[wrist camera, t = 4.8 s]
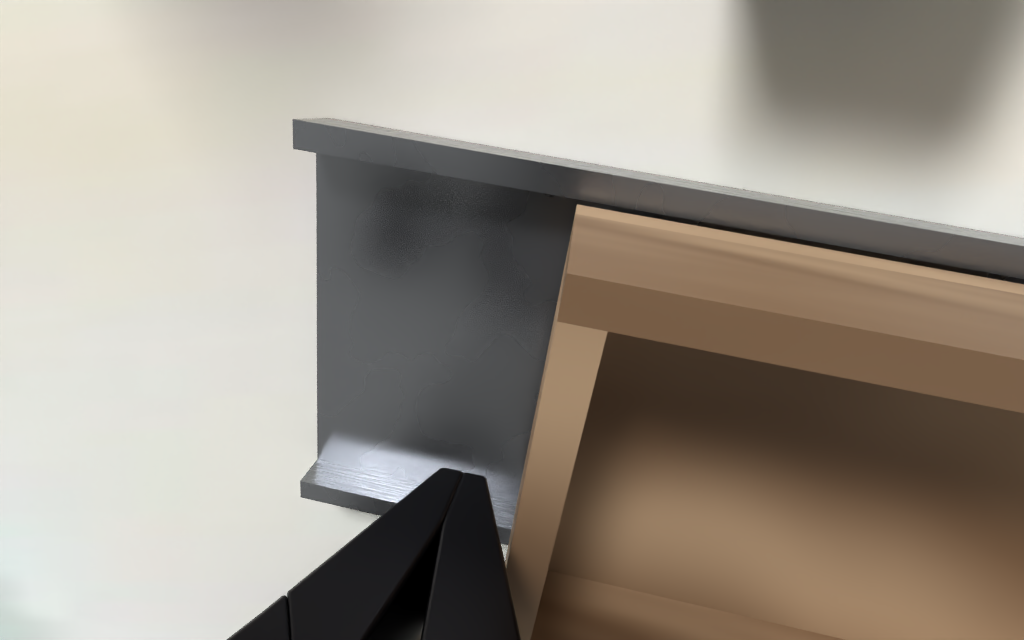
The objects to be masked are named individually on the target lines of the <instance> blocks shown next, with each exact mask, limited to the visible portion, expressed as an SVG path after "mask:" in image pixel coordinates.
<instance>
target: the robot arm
mask: <svg viewBox="0 0 1024 640" xmlns="http://www.w3.org/2000/svg"><path fill="white" fill-rule="evenodd" d="M227 640H521V635H520V631H519V626H518V621H517V617H516V612H515V608H514V603H513V598H512V594H511V589H510V584H509V580H508V575H507V571H506V566H505V561H504V557H503V552H502V548H501V543H500V538H499V534H498V529H497V524H496V520H495V515H494V511H493V506H492V501H491V497H490V492H489V488H488V483H487V479H486V477H484V476H482V475H477V474H473V473H468V472H465V473H463V472H462V471H459V470H454V469H449V468H440V469H439V470H437V471H436V472H435V473H434V474H432V475H431V476H430V477H429V478H428V479H426V480H425V481H424V482H423V483H421V484H420V485H419V486H418V487H416V488H415V489H414V490H413V491H411V492H410V493H409V494H408V495H407V496H405V497H404V498H403V499H402V500H400V501H399V502H398V503H397V504H395V505H394V506H393V507H392V508H391V509H389V510H388V511H387V512H386V513H384V514H383V515H382V516H381V517H379V518H378V519H377V520H376V521H374V522H373V523H372V524H371V525H370V526H368V527H367V528H366V529H365V530H363V531H362V532H361V533H360V534H358V535H357V536H356V537H355V538H354V539H352V540H351V541H350V542H349V543H347V544H346V545H345V546H344V547H342V548H341V549H340V550H339V551H337V552H336V553H335V554H334V555H333V556H331V557H330V558H329V559H328V560H326V561H325V562H324V563H323V564H321V565H320V566H319V567H318V568H316V569H315V570H314V571H313V572H312V573H310V574H309V575H308V576H307V577H305V578H304V579H303V580H302V581H300V582H299V583H298V584H297V585H296V586H294V587H293V588H292V589H291V590H289V591H288V593H287V596H285V595H284V596H281V597H280V598H279V599H278V600H277V601H275V602H274V603H273V604H272V605H270V606H269V607H268V608H267V609H266V610H264V611H263V612H262V613H261V614H259V615H258V616H257V617H255V618H254V619H253V620H252V621H250V622H249V623H248V624H246V625H245V626H244V627H242V628H241V629H240V630H239V631H237V632H236V633H235V634H233V635H232V636H231V637H229V638H228V639H227Z"/></svg>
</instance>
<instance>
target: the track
mask: <svg viewBox="0 0 1024 640" xmlns="http://www.w3.org/2000/svg"><path fill="white" fill-rule="evenodd" d="M293 149H298V150H303V151H309V152H314V153H316V181H317V433H318V459H317V461H316V462H315V463H314V465H313V466H312V467H311V468H310V470H309V471H308V472H307V473H306V475H305V476H304V477H303V479H302V480H301V481H300V484H301V497H302V498H307V499H311V500H315V501H320V502H324V503H328V504H333V505H337V506H341V507H346V508H350V509H354V510H359V511H363V512H367V513H372V514H376V515H380V516H382V515H383V514H384V513H386V512H387V511H388V510H389V509H391V508H392V507H393V506H394V505H395V504H397V503H398V502H399V501H400V500H402V499H403V498H404V497H405V496H407V495H408V494H409V493H410V492H411V491H413V490H414V489H415V488H416V487H418V486H419V485H420V484H421V483H423V482H424V481H425V480H426V479H428V478H429V477H430V476H431V475H432V474H434V473H435V472H436V471H437V470H439V469H440V468H449V469H454V470H459V471H462V472H463V473H465V472H468V473H473V474H477V475H482V476H484V477H486V479H487V483H488V488H489V492H490V497H491V501H492V506H493V511H494V515H495V520H496V524H497V529H498V534H499V538H500V543H502V544H506V545H508V544H509V539H510V534H511V529H512V524H513V519H514V514H515V509H516V504H517V499H518V494H519V489H520V484H521V479H522V475H523V470H524V465H525V460H526V455H527V450H528V445H529V440H530V435H531V430H532V425H533V420H534V415H535V410H536V405H537V400H538V395H539V390H540V385H541V380H542V375H543V370H544V365H545V360H546V355H547V350H548V345H549V340H550V336H551V331H552V326H553V321H554V316H555V311H556V306H557V301H558V296H559V291H560V286H561V281H562V276H563V271H564V266H565V261H566V256H567V251H568V246H569V241H570V236H571V231H572V226H573V221H574V216H575V211H576V206H577V204H578V205H583V206H589V207H595V208H600V209H606V210H611V211H617V212H622V213H628V214H634V215H639V216H645V217H650V218H656V219H662V220H667V221H673V222H678V223H684V224H689V225H695V226H701V227H706V228H712V229H717V230H723V231H729V232H734V233H740V234H745V235H751V236H756V237H762V238H768V239H773V240H779V241H784V242H790V243H796V244H801V245H807V246H812V247H818V248H823V249H829V250H835V251H840V252H846V253H851V254H857V255H863V256H868V257H874V258H879V259H885V260H890V261H896V262H902V263H907V264H913V265H918V266H924V267H930V268H935V269H941V270H946V271H952V272H957V273H963V274H969V275H974V276H980V277H985V278H991V279H997V280H1002V281H1008V282H1013V283H1019V284H1024V238H1019V237H1013V236H1008V235H1002V234H996V233H990V232H985V231H979V230H973V229H967V228H961V227H956V226H950V225H944V224H938V223H932V222H927V221H921V220H915V219H909V218H904V217H898V216H892V215H886V214H880V213H875V212H869V211H863V210H857V209H851V208H846V207H840V206H834V205H828V204H823V203H817V202H811V201H805V200H799V199H794V198H788V197H782V196H776V195H770V194H765V193H759V192H753V191H747V190H742V189H736V188H730V187H724V186H718V185H713V184H707V183H701V182H695V181H689V180H684V179H678V178H672V177H666V176H661V175H655V174H649V173H643V172H637V171H632V170H626V169H620V168H614V167H608V166H603V165H597V164H591V163H585V162H580V161H574V160H568V159H562V158H556V157H551V156H545V155H539V154H533V153H527V152H522V151H516V150H510V149H504V148H499V147H493V146H487V145H481V144H475V143H470V142H464V141H458V140H452V139H446V138H441V137H435V136H429V135H423V134H418V133H412V132H406V131H400V130H394V129H389V128H383V127H377V126H371V125H365V124H360V123H354V122H348V121H342V120H337V119H331V118H316V119H293Z"/></svg>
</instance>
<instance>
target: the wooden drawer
mask: <svg viewBox="0 0 1024 640" xmlns="http://www.w3.org/2000/svg"><path fill="white" fill-rule="evenodd" d="M505 566H506V571H507V575H508V580H509V584H510V589H511V594H512V598H513V603H514V608H515V612H516V617H517V621H518V626H519V631H520V635H521V640H1024V284H1019V283H1013V282H1008V281H1002V280H997V279H991V278H985V277H980V276H974V275H969V274H963V273H957V272H952V271H946V270H941V269H935V268H930V267H924V266H918V265H913V264H907V263H902V262H896V261H890V260H885V259H879V258H874V257H868V256H863V255H857V254H851V253H846V252H840V251H835V250H829V249H823V248H818V247H812V246H807V245H801V244H796V243H790V242H784V241H779V240H773V239H768V238H762V237H756V236H751V235H745V234H740V233H734V232H729V231H723V230H717V229H712V228H706V227H701V226H695V225H689V224H684V223H678V222H673V221H667V220H662V219H656V218H650V217H645V216H639V215H634V214H628V213H622V212H617V211H611V210H606V209H600V208H595V207H589V206H583V205H578V204H577V206H576V211H575V216H574V221H573V226H572V231H571V236H570V241H569V246H568V251H567V256H566V261H565V266H564V271H563V276H562V281H561V286H560V291H559V296H558V301H557V306H556V311H555V316H554V321H553V326H552V331H551V336H550V340H549V345H548V350H547V355H546V360H545V365H544V370H543V375H542V380H541V385H540V390H539V395H538V400H537V405H536V410H535V415H534V420H533V425H532V430H531V435H530V440H529V445H528V450H527V455H526V460H525V465H524V470H523V475H522V479H521V484H520V489H519V494H518V499H517V504H516V509H515V514H514V519H513V524H512V529H511V534H510V539H509V544H508V549H507V554H506V560H505Z"/></svg>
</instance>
